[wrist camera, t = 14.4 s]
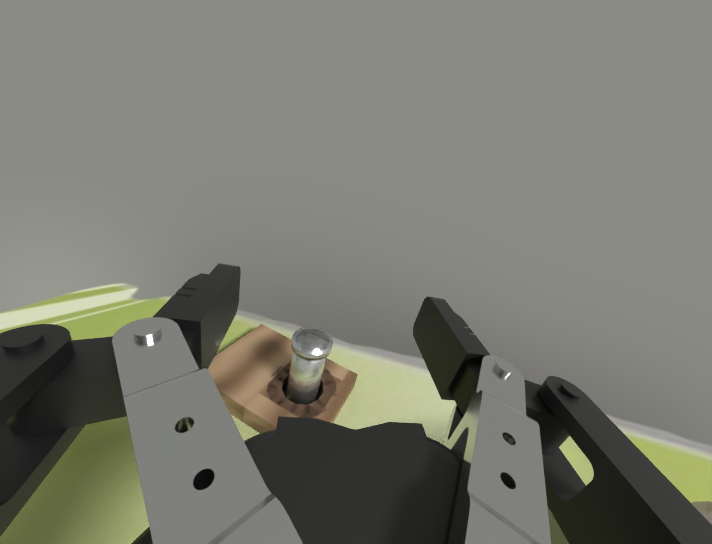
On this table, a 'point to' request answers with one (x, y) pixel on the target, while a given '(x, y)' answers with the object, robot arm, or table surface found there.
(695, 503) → the sculpture
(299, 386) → the silver metal peg
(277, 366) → the block
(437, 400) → the table surface
